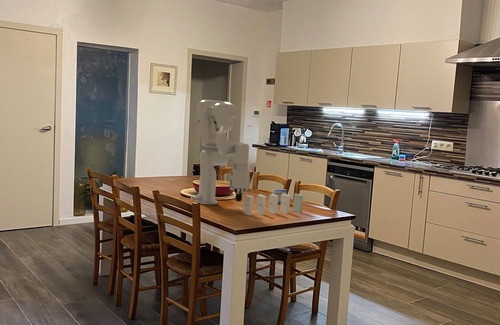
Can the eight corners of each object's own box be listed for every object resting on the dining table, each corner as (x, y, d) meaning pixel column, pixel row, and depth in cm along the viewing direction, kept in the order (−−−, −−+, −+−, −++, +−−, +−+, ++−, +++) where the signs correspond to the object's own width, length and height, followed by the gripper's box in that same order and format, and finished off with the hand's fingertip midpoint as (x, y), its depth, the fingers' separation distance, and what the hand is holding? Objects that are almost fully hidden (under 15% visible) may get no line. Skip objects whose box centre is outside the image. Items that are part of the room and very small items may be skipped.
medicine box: (273, 203, 301) (274, 189, 300) (271, 202, 305) (272, 188, 304) (285, 203, 302) (287, 190, 302) (284, 202, 307) (285, 188, 306)
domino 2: (261, 214, 265) (263, 196, 264) (255, 212, 270) (257, 194, 269) (264, 214, 266) (266, 196, 265) (259, 212, 271) (260, 194, 270)
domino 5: (298, 212, 277) (300, 195, 276) (292, 210, 282) (294, 193, 281) (301, 212, 278) (303, 195, 277) (295, 210, 283) (297, 193, 282)
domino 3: (273, 214, 269) (275, 196, 268) (268, 211, 274) (269, 194, 273) (277, 213, 270) (278, 196, 269) (271, 211, 275) (272, 194, 274)
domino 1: (248, 215, 260) (250, 196, 259) (243, 213, 266) (244, 194, 265) (252, 215, 261) (253, 196, 260) (246, 212, 267) (247, 194, 266)
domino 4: (285, 213, 273) (287, 195, 272) (279, 211, 278) (281, 193, 277) (288, 213, 274) (290, 195, 273) (282, 211, 279) (284, 193, 278)
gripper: (231, 167, 251) (229, 202, 252) (256, 167, 258) (254, 201, 260) (224, 165, 257) (222, 200, 259) (249, 166, 265) (247, 199, 266)
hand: (238, 201), depth 259 cm, fingers closed
